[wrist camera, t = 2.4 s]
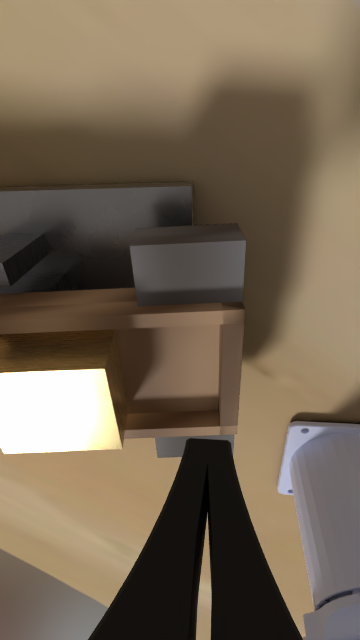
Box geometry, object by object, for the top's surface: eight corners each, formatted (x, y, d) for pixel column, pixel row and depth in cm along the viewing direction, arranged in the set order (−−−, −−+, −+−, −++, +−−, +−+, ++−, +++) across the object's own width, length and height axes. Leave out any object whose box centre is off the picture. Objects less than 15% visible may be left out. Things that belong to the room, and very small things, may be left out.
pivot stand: (192, 181, 15) (182, 208, 11) (198, 405, 22) (193, 468, 18) (-130, 191, 17) (-236, 217, 13) (-24, 395, 24) (-71, 450, 20)
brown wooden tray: (237, 223, 13) (249, 246, 11) (228, 424, 19) (234, 465, 17) (-261, 247, 13) (-347, 275, 11) (-112, 437, 20) (-148, 479, 18)
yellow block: (115, 328, 14) (104, 368, 12) (129, 404, 16) (122, 448, 14) (-5, 334, 14) (-37, 375, 12) (26, 408, 16) (4, 453, 14)
